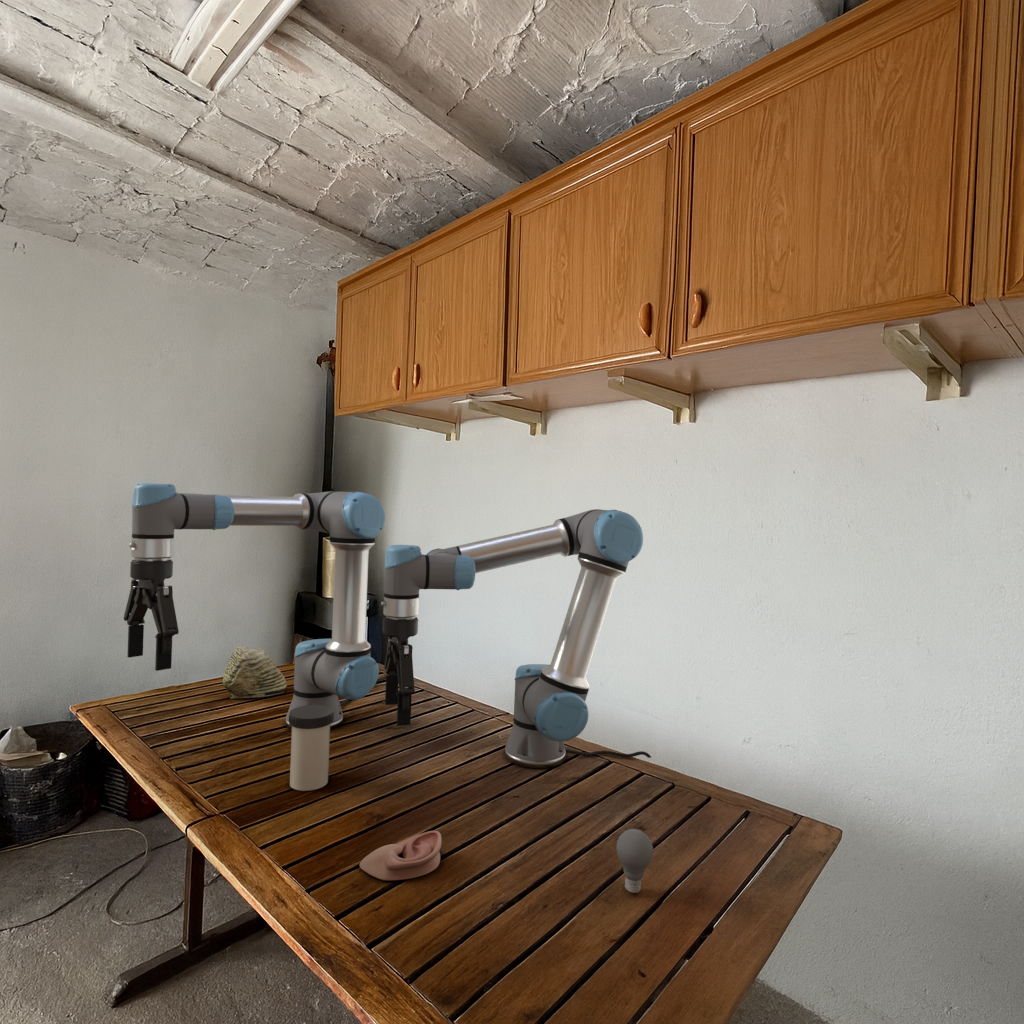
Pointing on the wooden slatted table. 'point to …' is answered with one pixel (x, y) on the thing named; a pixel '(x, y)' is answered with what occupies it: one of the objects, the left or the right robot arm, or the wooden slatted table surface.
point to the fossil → (252, 674)
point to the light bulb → (634, 857)
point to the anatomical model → (405, 858)
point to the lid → (311, 716)
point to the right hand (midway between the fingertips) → (397, 714)
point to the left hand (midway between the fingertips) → (148, 662)
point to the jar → (309, 758)
